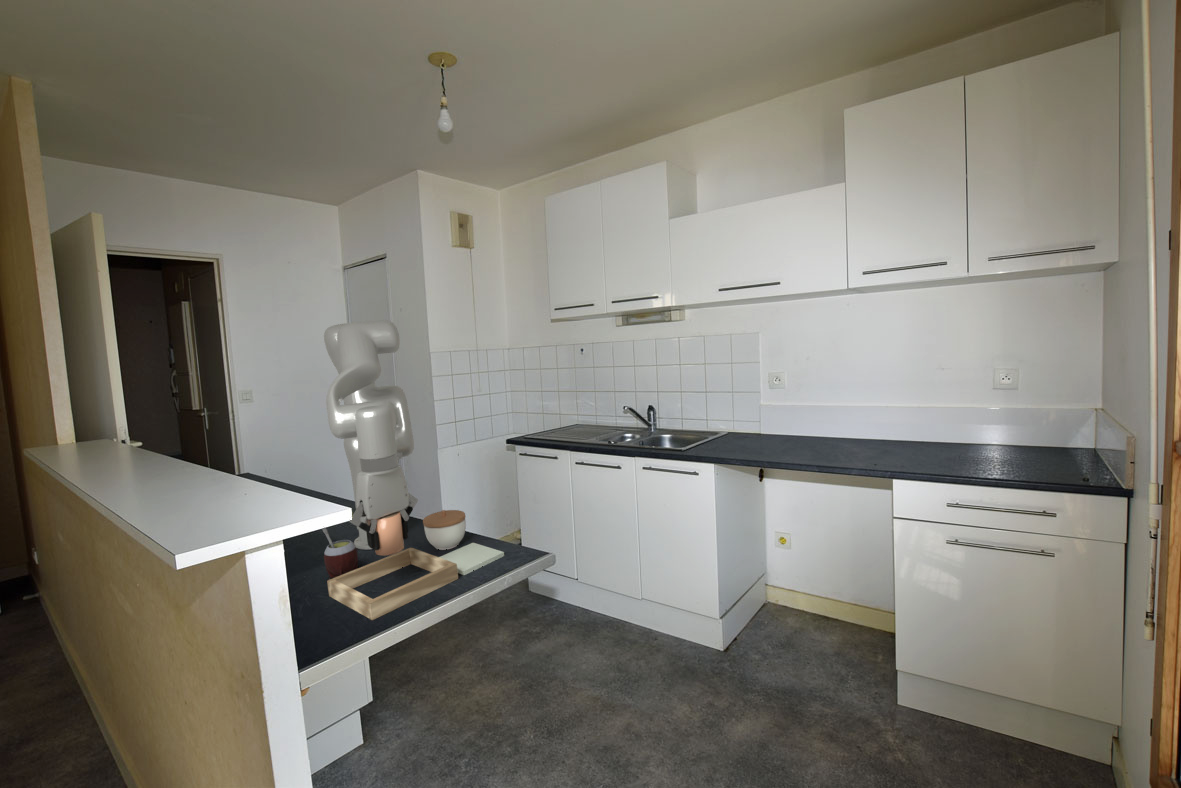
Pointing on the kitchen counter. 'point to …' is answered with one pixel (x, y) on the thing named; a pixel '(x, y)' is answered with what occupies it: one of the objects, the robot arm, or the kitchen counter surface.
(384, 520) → the terracotta pot
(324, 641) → the kitchen counter surface
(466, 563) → the sage tile
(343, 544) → the mate gourd
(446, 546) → the lidded jar
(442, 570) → the frame
